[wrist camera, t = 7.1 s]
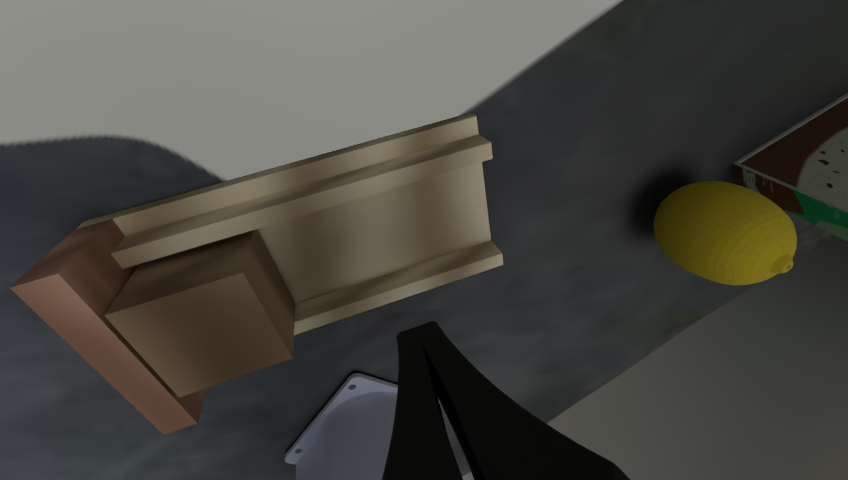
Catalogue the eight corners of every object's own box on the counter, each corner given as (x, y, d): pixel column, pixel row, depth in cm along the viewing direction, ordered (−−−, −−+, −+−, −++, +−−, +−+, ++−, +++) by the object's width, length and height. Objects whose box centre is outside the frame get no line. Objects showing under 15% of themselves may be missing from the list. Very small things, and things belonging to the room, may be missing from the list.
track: (470, 112, 19) (517, 138, 15) (488, 256, 24) (527, 306, 19) (84, 220, 17) (9, 287, 12) (191, 354, 21) (164, 435, 17)
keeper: (254, 224, 18) (242, 272, 14) (295, 302, 20) (292, 358, 17) (144, 257, 17) (104, 315, 14) (200, 333, 20) (179, 397, 16)
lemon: (702, 208, 27) (834, 270, 20) (635, 252, 27) (743, 328, 20) (692, 146, 24) (844, 195, 17) (617, 197, 24) (736, 265, 17)
